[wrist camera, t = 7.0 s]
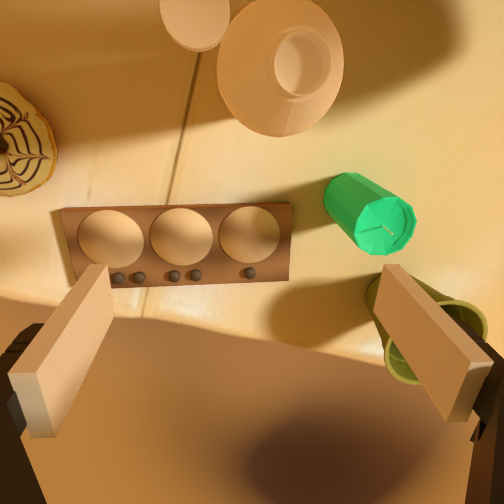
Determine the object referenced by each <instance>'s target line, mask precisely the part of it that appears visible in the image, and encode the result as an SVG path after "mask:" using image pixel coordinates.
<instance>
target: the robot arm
mask: <svg viewBox="0 0 504 504" xmlns="http://www.w3.org/2000/svg"><path fill="white" fill-rule="evenodd" d="M373 312H374V313H375V315H376V316H377V318H378V319H379V321H380V322H381V324H382V325H383V327H384V328H385V330H386V331H387V333H388V334H389V336H390V337H391V339H392V340H393V342H394V343H395V345H396V346H397V348H398V349H399V351H400V353H401V354H402V356H403V357H404V359H405V360H406V362H407V363H408V365H409V366H410V368H411V369H412V371H413V372H414V374H415V375H416V377H417V378H418V380H419V381H420V383H421V384H422V386H423V387H424V389H425V390H426V392H427V393H428V395H429V397H430V398H431V400H432V401H433V403H434V404H435V405H436V407H437V409H438V410H439V412H440V413H441V415H442V416H443V418H444V419H445V421H446V422H466V421H467V420H468V418H469V416H470V414H471V412H472V409H473V410H474V411H475V412H476V414H477V415H478V416H479V417H480V420H479V422H478V424H477V426H476V428H475V431H474V433H473V435H472V437H471V439H470V441H472V442H474V447H473V453H472V460H471V466H470V473H469V479H468V485H467V492H466V499H465V504H504V359H503V358H502V357H501V356H500V355H499V354H498V353H497V352H496V351H495V350H494V349H493V348H492V347H491V346H490V345H489V344H488V343H486V342H485V340H484V339H483V338H482V337H481V336H480V335H479V336H478V333H477V332H476V331H475V330H474V329H473V328H472V327H471V326H470V325H468V324H467V323H465V322H463V321H462V320H460V319H458V318H457V317H450V316H449V315H448V314H447V313H446V312H445V311H444V310H443V309H442V308H441V307H440V306H439V305H438V304H437V303H436V302H435V301H434V300H433V299H432V298H431V297H430V296H429V295H428V294H427V293H426V292H425V291H424V290H423V289H422V288H421V286H420V285H419V284H418V283H417V282H416V281H415V280H414V279H413V278H412V277H411V276H410V275H409V274H408V273H407V272H406V271H405V270H404V269H403V268H402V267H401V266H400V265H399V264H384V266H383V270H382V274H381V279H380V283H379V287H378V292H377V296H376V300H375V305H374V309H373ZM114 315H115V309H114V303H113V297H112V291H111V285H110V279H109V273H108V266H107V264H90V265H89V266H88V267H87V269H86V270H85V271H84V273H83V274H82V275H81V277H80V278H79V279H78V281H77V282H76V283H75V285H74V286H73V287H72V289H71V290H70V291H69V292H68V294H67V295H66V296H65V298H64V299H63V300H62V302H61V303H60V304H59V306H58V307H57V308H56V310H55V311H54V312H53V314H52V315H51V316H50V318H49V319H48V320H47V322H46V323H39V324H38V323H36V324H32V325H30V326H29V327H27V328H26V329H24V330H23V331H22V332H20V333H19V335H18V336H17V337H16V338H15V339H14V341H13V342H12V344H11V345H9V347H8V348H7V349H6V350H5V353H3V354H2V355H1V356H0V504H47V503H46V500H45V498H44V496H43V493H42V490H41V488H40V486H39V483H38V481H37V478H36V476H35V473H34V471H33V468H32V466H31V463H30V461H29V458H28V456H27V454H26V451H25V448H24V446H23V444H22V441H21V439H20V436H21V434H22V432H23V431H24V429H25V428H26V426H27V429H28V431H29V435H30V437H31V438H52V437H56V436H57V434H58V432H59V430H60V428H61V426H62V423H63V422H64V419H65V417H66V415H67V413H68V411H69V409H70V407H71V405H72V403H73V401H74V399H75V396H76V394H77V392H78V390H79V388H80V386H81V384H82V382H83V380H84V378H85V376H86V374H87V371H88V369H89V367H90V365H91V363H92V361H93V359H94V357H95V355H96V352H97V351H98V348H99V346H100V344H101V342H102V340H103V338H104V336H105V334H106V332H107V330H108V328H109V326H110V324H111V321H112V319H113V317H114Z"/></svg>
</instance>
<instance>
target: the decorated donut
mask: <svg viewBox="0 0 504 504" xmlns="http://www.w3.org/2000/svg"><path fill="white" fill-rule="evenodd" d="M0 133H1V134H2V136H3V137H4V139H5V140H6V141H7V142H8V144H9V149H8V150H7V151H3V150H1V149H0V196H7V197H12V196H18V195H23V194H26V193H28V192H31V191H33V190H35V189H36V188H38V187H40V186H42V185H43V184H44V183H45V182H46V181H48V180H49V179H50V178H51V176H52V175H53V173H54V170H55V165H56V161H57V147H56V142H55V137H54V134H53V132H52V130H51V127H50V125H49V123H48V122H47V120H46V118H45V117H44V116H43V114H42V113H41V112H40V111H39V110H38V109H37V108H36V107H35V106H34V105H32V104H31V103H30V102H29V101H27V100H26V99H25V98H23V97H22V96H21V95H20V94H19V92H18V91H17V90H16V89H15V88H13V87H12V86H11V85H9V84H6V83H3V82H0Z"/></svg>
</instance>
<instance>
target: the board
mask: <svg viewBox="0 0 504 504" xmlns="http://www.w3.org/2000/svg"><path fill="white" fill-rule="evenodd" d="M292 209H293V206H292V204H291V203H290V202H281V203H239V204H197V205H156V206H114V207H72V208H64V209H63V210H61V211H60V216H61V220H62V224H63V228H64V232H65V236H66V240H67V244H68V248H69V252H70V256H71V260H72V264H73V268H74V273H75V277H76V281H78V279H79V278H80V277H81V275H82V274H83V273H84V271H85V270H86V269H87V267H88V266H89V265H90V264H107V266H108V273H109V279H110V285H111V288H134V287H157V286H181V285H204V284H227V283H250V282H273V281H289V263H290V245H291V227H292Z"/></svg>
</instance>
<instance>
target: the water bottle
mask: <svg viewBox="0 0 504 504" xmlns="http://www.w3.org/2000/svg"><path fill="white" fill-rule="evenodd" d="M159 8H160V9H159V10H160V14H161V15H160V16H161V19H162V22H163V24H164V27H165V29H166V30H167V32H168V33H169V35H170V36H171V37H172V39H173V40H174V41H175V42H176V43H177V44H179V45H180V46H181V47H183V48H185V49H187V50H189V51H193V52H205V51H208V50H210V49H213V48H214V47H216V46H217V45H218V44H219V43H220V42H221V44H220V48H219V52H218V58H217V84H218V89H219V92H220V95H221V97H222V99H223V100H224V102H225V104H226V105H227V107H228V109H229V110H230V112H231V113H232V114H233V115H234V117H235V118H236V119H237V120H238V121H239V122H240V123H242V124H243V125H244V126H246V127H247V128H249V129H250V130H252V131H254V132H256V133H259V134H262V135H266V136H272V137H285V136H290V135H294V134H297V133H300V132H302V131H304V130H306V129H308V128H310V127H311V126H313V125H314V124H315V123H316V122H318V121H319V120H320V119H321V118H322V117H323V116H324V115H325V114H326V112H327V111H328V110H329V108H330V107H331V105H332V104H333V102H334V100H335V98H336V96H337V94H338V91H339V89H340V86H341V82H342V77H343V70H344V55H343V48H342V43H341V39H340V36H339V34H338V31H337V29H336V27H335V25H334V24H333V22H332V20H331V19H330V18H329V16H328V15H327V14H326V13H325V12H324V11H323V10H322V9H321V8H320V7H319V6H318V5H316V4H315V3H313V2H312V1H310V0H255V1H253V2H252V3H250V4H249V5H247V6H246V7H245V8H243V9H242V10H241V11H240V12H239V13H238V14H237V15H236V16H235V18H234V19H233V20H232V22H231V23H230V25H229V22H230V3H229V0H159Z"/></svg>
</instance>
